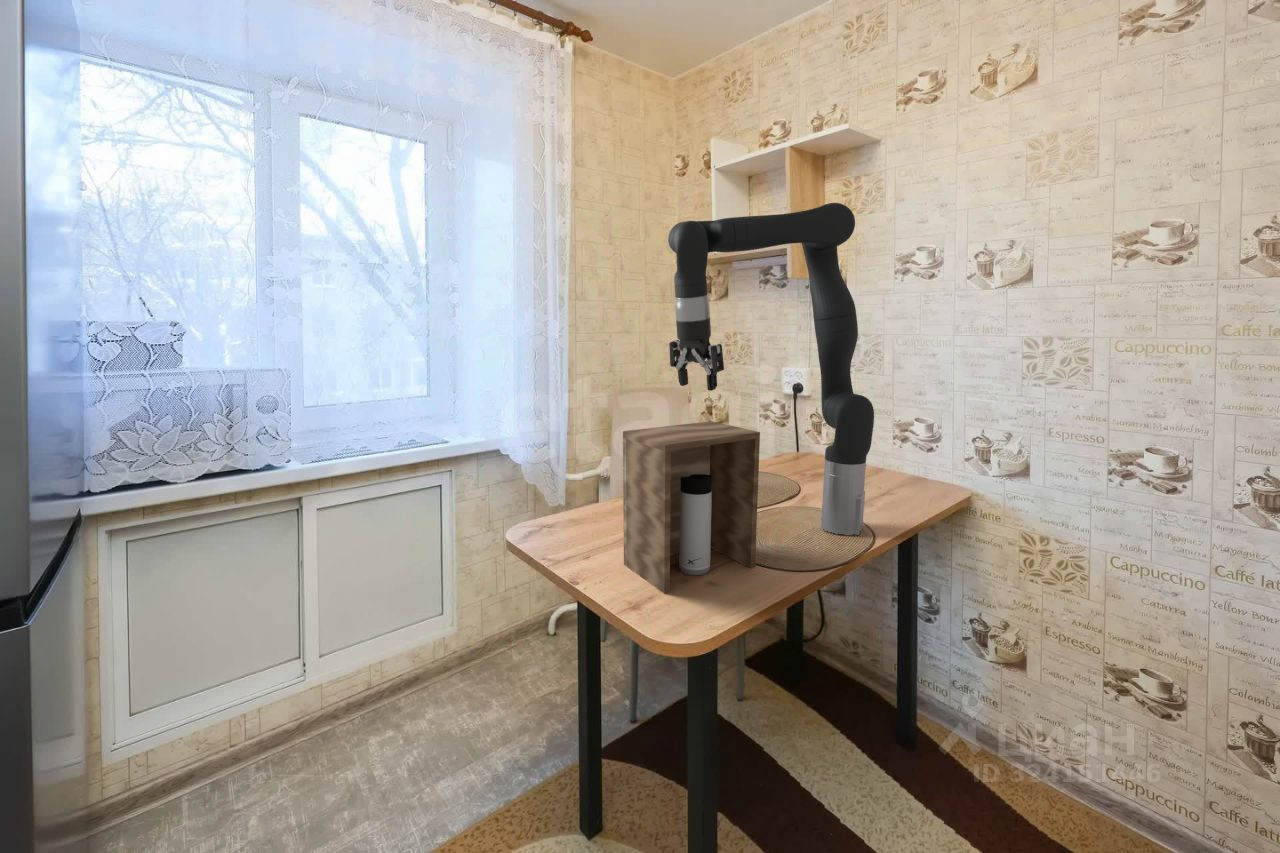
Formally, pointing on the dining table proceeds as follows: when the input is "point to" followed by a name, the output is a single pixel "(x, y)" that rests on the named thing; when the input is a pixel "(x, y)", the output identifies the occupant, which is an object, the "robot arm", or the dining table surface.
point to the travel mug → (695, 524)
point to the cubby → (656, 492)
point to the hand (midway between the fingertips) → (697, 387)
